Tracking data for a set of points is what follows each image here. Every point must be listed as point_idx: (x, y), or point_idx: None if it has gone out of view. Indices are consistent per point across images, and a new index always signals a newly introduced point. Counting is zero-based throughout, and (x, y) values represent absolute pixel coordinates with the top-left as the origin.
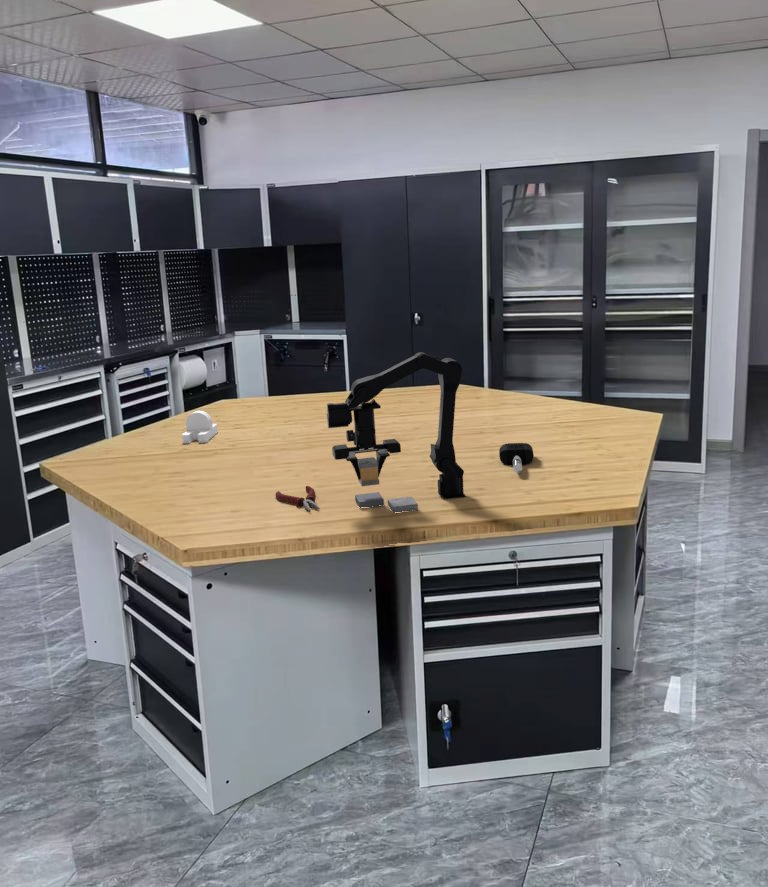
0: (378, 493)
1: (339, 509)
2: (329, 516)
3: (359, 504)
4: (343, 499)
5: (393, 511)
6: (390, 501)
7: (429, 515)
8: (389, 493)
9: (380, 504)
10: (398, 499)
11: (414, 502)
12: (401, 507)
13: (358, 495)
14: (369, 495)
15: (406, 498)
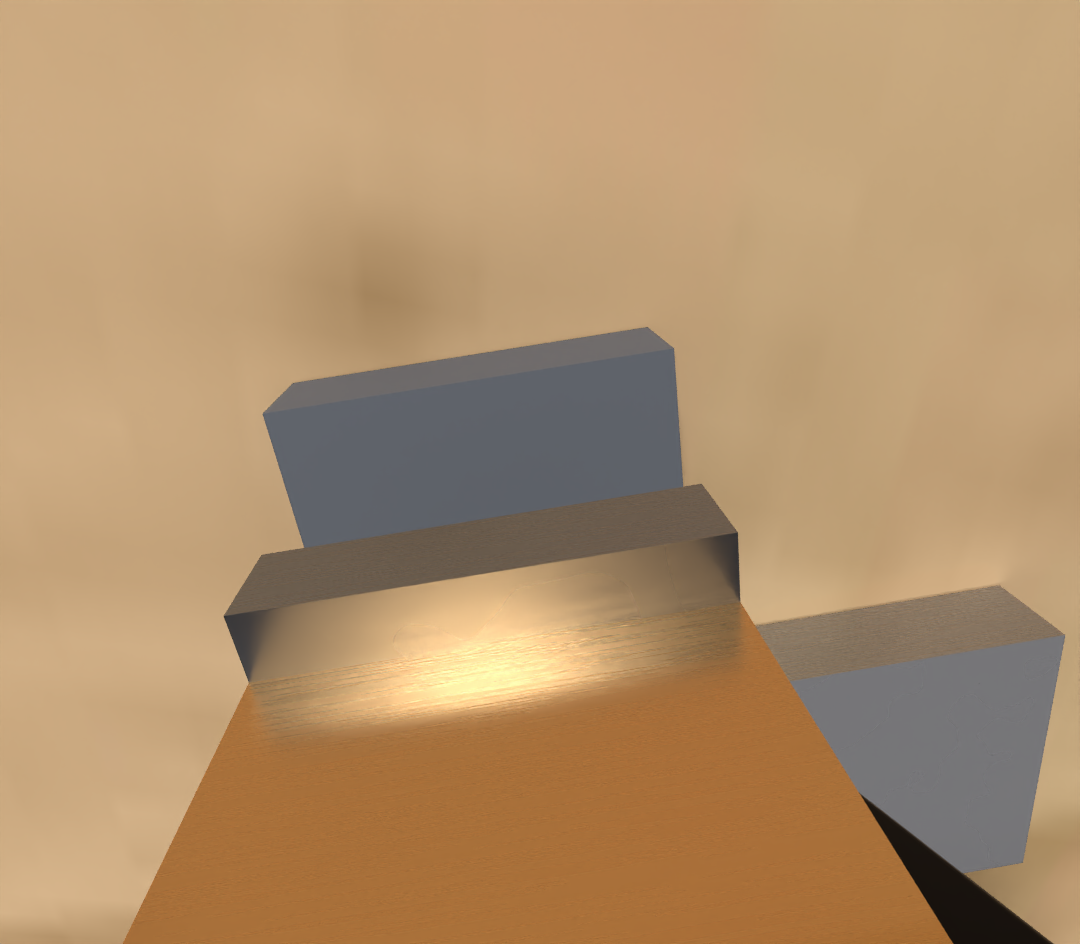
0: (660, 423)
1: (113, 647)
2: (44, 830)
3: None
4: (73, 230)
5: None
6: None
7: (1016, 900)
8: (846, 85)
9: None
10: (873, 716)
11: (1008, 824)
12: None
13: (328, 460)
14: (510, 495)
15: (976, 695)
